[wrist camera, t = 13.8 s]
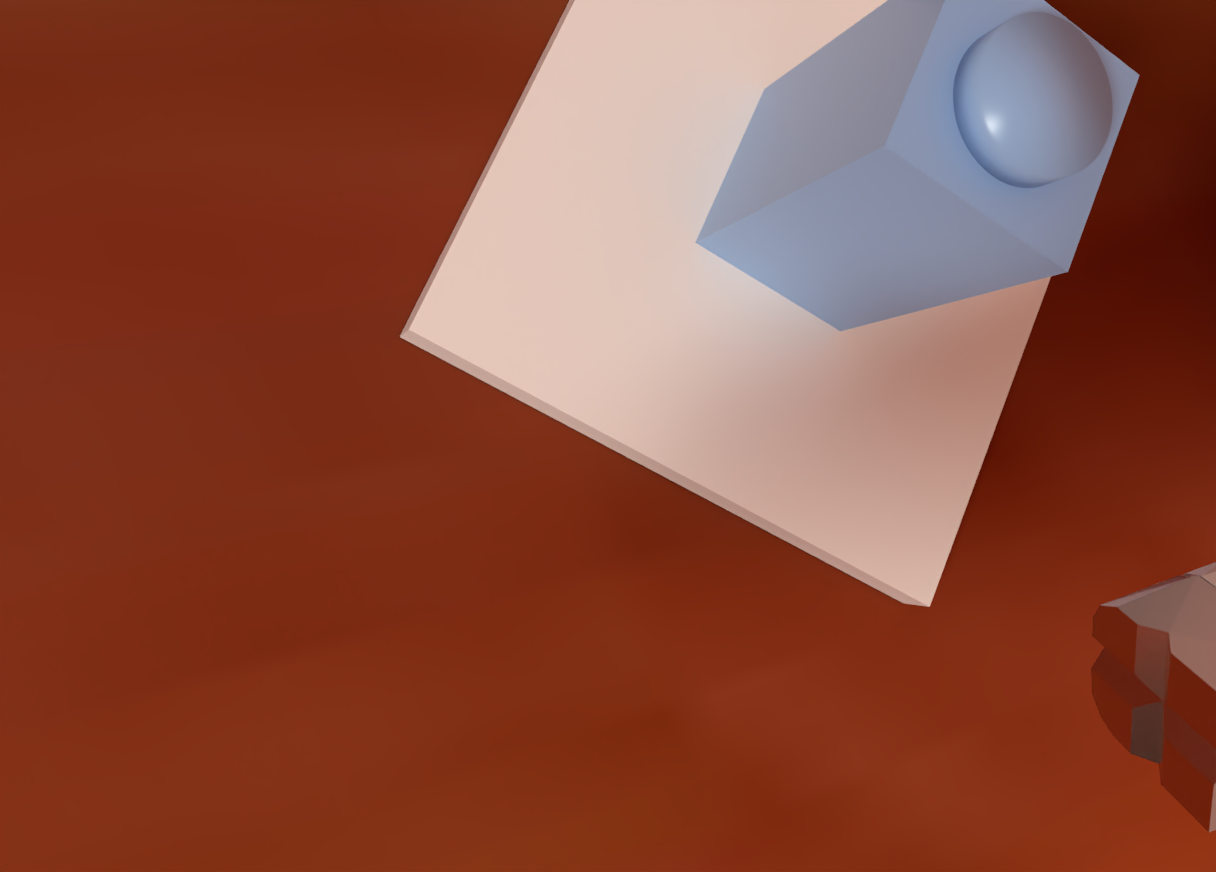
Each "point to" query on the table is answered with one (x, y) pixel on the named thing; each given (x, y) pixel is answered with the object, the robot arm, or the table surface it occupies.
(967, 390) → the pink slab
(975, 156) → the blue domed block
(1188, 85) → the table surface
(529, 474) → the table surface
